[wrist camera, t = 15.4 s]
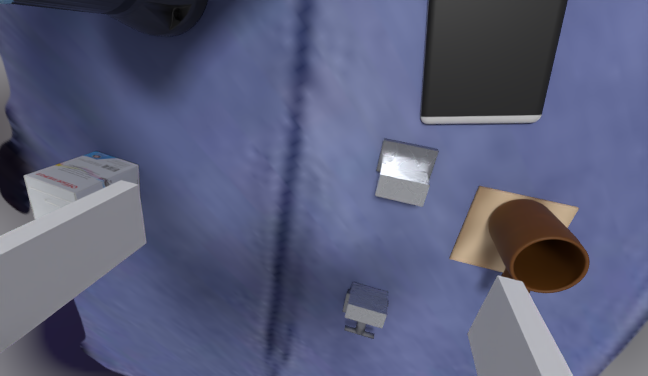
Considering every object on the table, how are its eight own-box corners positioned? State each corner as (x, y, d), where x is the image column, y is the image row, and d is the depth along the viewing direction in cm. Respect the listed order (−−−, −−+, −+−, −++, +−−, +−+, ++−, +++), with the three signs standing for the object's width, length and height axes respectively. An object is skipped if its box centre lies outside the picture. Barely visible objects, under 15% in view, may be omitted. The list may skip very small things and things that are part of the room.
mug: (515, 276, 44) (543, 330, 35) (463, 260, 44) (478, 308, 36) (563, 206, 38) (609, 250, 30) (502, 189, 39) (530, 226, 31)
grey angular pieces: (341, 314, 55) (336, 337, 50) (384, 138, 40) (382, 148, 36) (380, 325, 54) (378, 350, 49) (437, 149, 39) (442, 161, 35)
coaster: (449, 257, 45) (449, 259, 45) (479, 185, 40) (479, 186, 40) (534, 278, 44) (535, 280, 43) (577, 207, 38) (578, 208, 38)
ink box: (100, 192, 56) (32, 223, 46) (95, 149, 52) (20, 173, 42) (141, 206, 55) (81, 242, 45) (139, 164, 51) (73, 192, 41)
